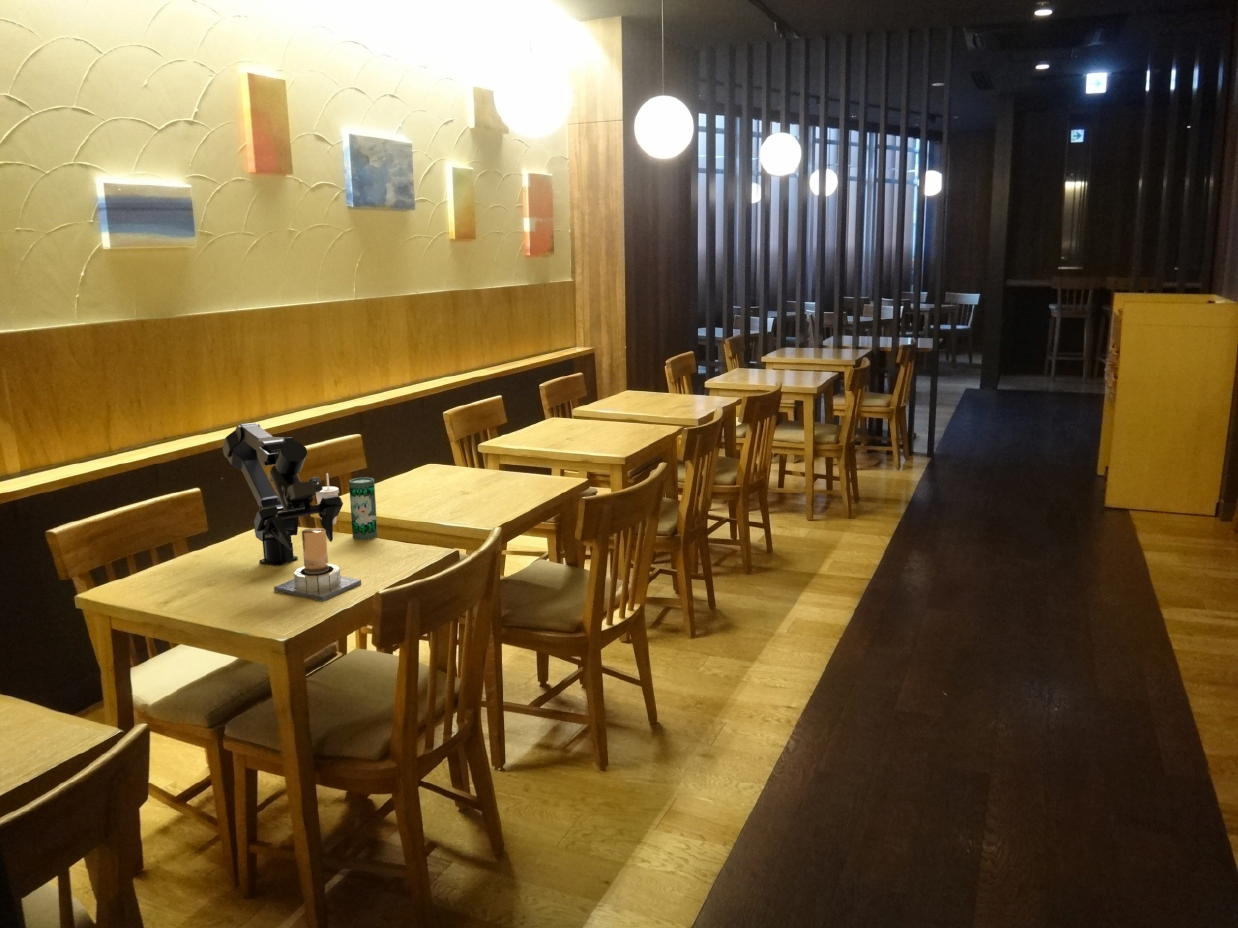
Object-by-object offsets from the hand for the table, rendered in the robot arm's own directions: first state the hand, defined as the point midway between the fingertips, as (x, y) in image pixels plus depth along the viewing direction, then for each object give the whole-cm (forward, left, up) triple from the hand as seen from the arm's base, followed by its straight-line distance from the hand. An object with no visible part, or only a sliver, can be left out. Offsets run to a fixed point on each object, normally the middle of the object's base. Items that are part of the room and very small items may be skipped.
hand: (311, 544), depth 215 cm
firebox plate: (+2, -1, -9) cm, 10 cm away
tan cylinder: (+2, -1, -8) cm, 9 cm away
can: (-15, +34, -10) cm, 39 cm away
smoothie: (-32, +39, -10) cm, 52 cm away
